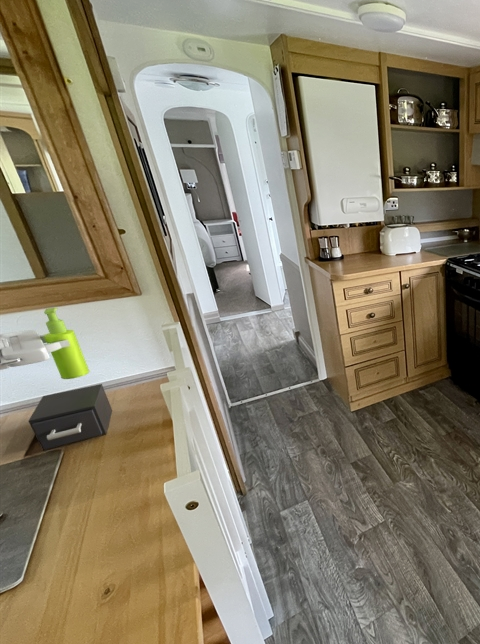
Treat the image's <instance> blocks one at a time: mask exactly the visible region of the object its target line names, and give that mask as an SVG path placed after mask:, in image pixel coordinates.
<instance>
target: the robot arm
mask: <svg viewBox="0 0 480 644" xmlns="http://www.w3.org/2000/svg"><path fill="white" fill-rule="evenodd" d="M46 334H47V333H45V334H39V331H38V330H36V329H35V330H34V329H32V330H31V329H30V330H21V331H20V330H19V331H14V332H7V333H1V334H0V371H3V370H7V369H10V368H16V367H21V366H26V365H32V364H38V363H42V362H45V361H48V360H49V359H51V357H50V354H49V353H51V352H53V351H56V350H58V349H60V348H63V347H68V346H70V343H69V341H68V340H67V339H64V340H59V341H58V342H54V343H51V344H50V343H48V344H47V342H46V340H45V337H44V335H46Z"/></svg>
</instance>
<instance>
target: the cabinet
mask: <svg viewBox="0 0 480 644" xmlns="http://www.w3.org/2000/svg"><path fill="white" fill-rule="evenodd" d="M89 409H93V411H94V414H95V416H96V419H97V421H98V423H99V426H100V428H101V431H102V435H98V436H94V437H91V438H87V439H83V440H79V441H75V442H72V443H68V444H64V445H60V446H56V447H53V448H49V449H45V450H44V449H43V447H42V445H41V443H40V441H39V439H38V437H37V435H36V433H35V431H34V429H33V427H32V424H33V423H36V422H39V421H42V420H46V419H50V418H55V417H59V416H63V415H68V414H72V413H76V412H81V411H85V410H89ZM112 414H113V409H112V406H111V404H110V401H109V398H108V395H107V393H106V391H105V388H104V386H103V383H100V384H95V385H90V386H86V387H81V388H76V389H72V390H70V389H69V390H66V391H61V392H57V393H51V394H47V395H43V396H42V397H41V399H40V401H39V402H38V404H37V405H36V406H35V409H34V410H33V412H32V414H31V415H30V417H29V419H28V423H29V425H30V427H31V429H32V431H33V433H34V435H35V437H36V439H37V441H38V444H39V445H40V447H41V450H42V451H43V452H45V451H48V450H53V449H57V448H60V447H65V446H67V445H71V444H75V443H78V442H83V441H86V440H90V439H94V438H98V437H102V436H105V435H107V432H108V429H109V425H110V422H111V418H112V417H111V416H112Z"/></svg>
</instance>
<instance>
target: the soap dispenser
mask: <svg viewBox="0 0 480 644" xmlns="http://www.w3.org/2000/svg"><path fill="white" fill-rule="evenodd" d="M57 310H58V307H51V308H50V307H49V308H45V309H44V315H46V316H47V318H48V321H46V322H45V325H46V327H47V330H48V332H49V333H45V334H46V335H45V334H43V335H44V337H45V340H46V342H47V343H46V344H48V343H50V344H51V343H54V342H58V341H59V340H64V339H67V340H68V341H69V343H70V346H68V347H63V348H60V349H58V350H56V351H53V352H50V354H51V357H52V358H53V361H54V363H55V366H56V368H57V370H58V373H59V375H60V378H61V379H62V380H72V379H77V378H81V377H84V376H86V375H88V374H90V369H89V367H88V364H87V361H86V359H85V356H84V354H83V352H82V349H81V346H80V343H79V341H78V338H77V335H76V333H75V330H73V329H67V328H66V327H67V326H66V324H65V322H64V320H63V319H60V318H58V316H57V314H56V311H57Z"/></svg>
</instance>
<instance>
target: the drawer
mask: <svg viewBox="0 0 480 644" xmlns="http://www.w3.org/2000/svg"><path fill="white" fill-rule="evenodd" d="M32 427H33V429H34V431H35V433H36V435H37V437H38V439H39V441H40V443H41V445H42V447H43V449H44V450H45V449H49V448H52V449H54V448H53V447H56V446H60V445H64V444H68V443H71V444H73V443H72V442H75V441H79V440H83V439H87V438H90V439H92V438H91V437H94V436H98V435H102V431H101V428H100V426H99V423H98V421H97V419H96V416H95V414H94V411H93V409H89V410H85V411H81V412H76V413H72V414H68V415H63V416H59V417H55V418H50V419H46V420H42V421H39V422H36V423H33V424H32ZM32 427H31V428H32ZM33 429H32V430H33ZM34 431H33V432H34ZM35 433H34V434H35ZM36 435H35V436H36ZM102 436H103V435H102ZM37 437H36V438H37ZM98 437H99V436H98ZM94 438H95V437H94ZM38 439H37V440H38ZM87 440H88V439H87ZM39 441H38V442H39ZM83 441H84V440H83ZM79 442H80V441H79ZM40 443H39V444H40ZM75 443H76V442H75ZM41 445H40V446H41ZM68 445H69V444H68ZM64 446H65V445H64ZM42 447H41V448H42ZM60 447H61V446H60ZM56 448H57V447H56ZM43 449H42V450H43ZM49 450H50V449H49ZM45 451H46V450H45Z"/></svg>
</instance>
